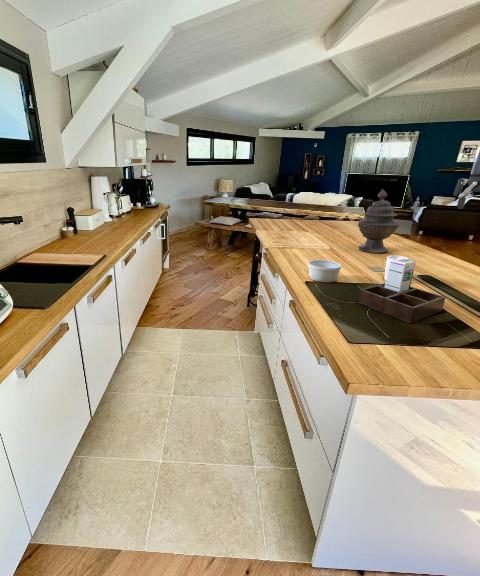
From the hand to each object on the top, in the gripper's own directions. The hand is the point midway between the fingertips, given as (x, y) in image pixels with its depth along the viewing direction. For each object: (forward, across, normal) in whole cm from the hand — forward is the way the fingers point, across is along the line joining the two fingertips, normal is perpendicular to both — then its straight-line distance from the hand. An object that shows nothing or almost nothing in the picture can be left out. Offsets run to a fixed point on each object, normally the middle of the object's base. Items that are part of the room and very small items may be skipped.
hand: (474, 209), depth 110 cm
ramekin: (+32, +36, +29) cm, 56 cm away
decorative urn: (+32, +56, -36) cm, 74 cm away
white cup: (+32, +20, +4) cm, 38 cm away
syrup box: (+31, +6, +26) cm, 41 cm away
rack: (+32, +2, +30) cm, 44 cm away
